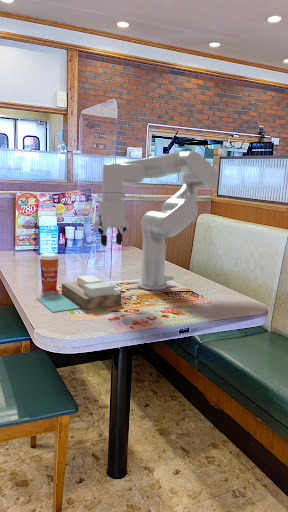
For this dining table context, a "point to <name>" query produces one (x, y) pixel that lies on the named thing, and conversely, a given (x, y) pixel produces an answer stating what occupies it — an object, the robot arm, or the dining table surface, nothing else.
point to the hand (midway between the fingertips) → (111, 244)
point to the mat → (58, 303)
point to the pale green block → (98, 289)
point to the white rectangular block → (87, 280)
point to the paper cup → (49, 271)
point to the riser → (85, 301)
